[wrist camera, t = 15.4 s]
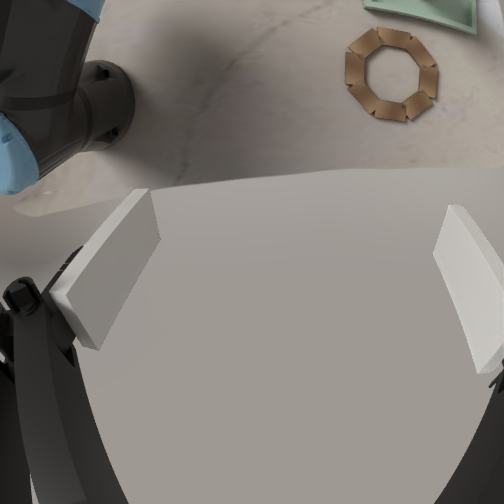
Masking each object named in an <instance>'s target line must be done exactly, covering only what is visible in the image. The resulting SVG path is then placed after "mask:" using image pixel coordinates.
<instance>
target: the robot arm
mask: <svg viewBox="0 0 504 504" xmlns="http://www.w3.org/2000/svg"><path fill="white" fill-rule="evenodd" d="M104 2H105V0H0V193H1V194H5V195H14V194H17V193H19V192H21V191H22V190H24V189H25V188H27V187H28V186H31V185H33V184H35V183H36V182H37V181H38V180H40V179H41V178H42V177H44V176H45V175H47V174H48V173H49V172H51V171H52V170H53V169H55V168H56V167H58V166H59V165H60V164H62V163H63V162H65V161H66V160H68V159H69V158H71V157H72V156H74V155H75V154H77V153H78V152H87V151H97V150H101V149H104V148H106V147H108V146H110V145H112V144H113V143H115V142H116V141H118V140H119V139H120V138H121V137H122V136H123V135H124V134H125V133H126V131H127V130H128V128H129V126H130V124H131V122H132V119H133V115H134V108H135V100H134V93H133V89H132V86H131V83H130V81H129V79H128V78H127V76H126V75H125V73H124V72H123V71H122V70H121V69H120V68H119V67H117V66H116V65H114V64H113V63H110V62H108V61H103V60H95V61H89V62H85V58H86V55H87V52H88V49H89V46H90V43H91V40H92V37H93V34H94V31H95V28H96V26H97V24H99V22H100V18H99V16H100V13H101V10H102V7H103V5H104ZM84 62H85V63H84ZM160 240H161V238H160V234H159V230H158V226H157V221H156V217H155V213H154V208H153V204H152V199H151V194H150V190H149V189H134V190H133V191H132V192H131V193H130V194H129V195H128V196H127V197H126V199H125V200H124V201H123V202H122V203H121V204H120V205H119V206H118V207H117V208H116V209H115V211H114V212H113V213H112V214H111V215H110V216H109V217H108V218H107V220H106V221H105V222H104V223H103V224H102V225H101V226H100V228H99V229H98V230H97V231H96V232H95V233H94V235H93V236H92V237H91V238H90V239H89V241H88V242H87V243H86V244H85V245H84V246H81V247H80V248H79V249H77V250H76V251H75V252H73V253H72V254H71V255H70V257H69V258H68V259H67V261H66V262H65V264H63V265H62V267H61V268H60V271H58V272H57V273H56V274H55V276H54V277H53V278H52V280H51V281H50V282H49V284H48V285H47V286H46V288H45V289H44V291H43V292H42V293H41V294H40V292H39V290H38V288H37V287H36V285H35V283H34V281H33V280H32V279H31V278H30V277H21V278H18V279H17V280H15V281H13V282H12V283H11V284H10V285H9V286H8V287H7V288H6V290H5V291H4V294H3V299H4V300H5V302H6V303H7V305H8V306H9V308H10V309H11V310H5V308H4V307H3V305H2V304H1V302H0V352H1V353H2V354H3V356H4V357H5V361H4V363H3V362H1V361H0V504H32V495H31V485H30V474H31V478H32V482H33V485H34V489H35V492H36V496H37V498H38V502H39V504H128V501H127V499H126V497H125V495H124V493H123V491H122V489H121V486H120V485H119V482H118V480H117V477H116V475H115V473H114V470H113V468H112V466H111V463H110V461H109V458H108V456H107V453H106V451H105V448H104V445H103V443H102V440H101V438H100V434H99V431H98V428H97V426H96V423H95V420H94V416H93V413H92V410H91V407H90V403H89V400H88V397H87V393H86V390H85V386H84V382H83V378H82V374H81V371H80V367H79V362H78V357H77V353H76V349H75V347H74V345H73V344H72V343H73V341H74V339H75V337H77V338H78V340H79V341H80V343H81V344H82V346H84V347H88V348H91V349H95V350H100V348H101V346H102V344H103V342H104V340H105V338H106V336H107V334H108V332H109V330H110V328H111V326H112V324H113V323H114V321H115V319H116V317H117V315H118V313H119V311H120V309H121V308H122V306H123V304H124V302H125V300H126V299H127V297H128V295H129V293H130V291H131V290H132V288H133V286H134V284H135V282H136V281H137V279H138V277H139V275H140V274H141V272H142V270H143V269H144V267H145V265H146V263H147V262H148V260H149V258H150V257H151V255H152V253H153V251H154V250H155V248H156V246H157V245H158V243H159V242H160ZM433 256H434V258H435V261H436V263H437V265H438V267H439V269H440V271H441V274H442V276H443V278H444V281H445V283H446V286H447V288H448V290H449V293H450V295H451V298H452V300H453V303H454V305H455V308H456V310H457V313H458V316H459V318H460V321H461V324H462V327H463V329H464V332H465V335H466V338H467V341H468V344H469V347H470V350H471V354H472V357H473V360H474V364H475V367H476V370H477V374H481V373H488V372H493V371H494V370H495V369H496V368H497V366H498V365H499V364H500V363H501V362H502V364H503V367H504V265H503V263H502V262H501V260H500V259H499V257H498V255H497V254H496V252H495V251H494V249H493V248H492V246H491V245H490V243H489V242H488V241H487V239H486V237H485V236H484V235H483V233H482V232H481V230H480V229H479V227H478V226H477V225H476V223H475V222H474V220H473V219H472V218H471V217H470V215H469V214H468V212H467V211H466V210H465V208H464V207H463V206H461V205H452V204H449V205H448V209H447V212H446V215H445V219H444V222H443V225H442V228H441V232H440V234H439V237H438V240H437V243H436V246H435V249H434V252H433ZM495 383H496V386H495V388H494V391H493V393H492V396H491V398H490V401H489V404H488V406H487V408H486V411H485V413H484V415H483V418H482V420H481V422H480V425H479V426H478V429H477V431H476V433H475V435H474V437H473V439H472V441H471V443H470V445H469V447H468V449H467V451H466V453H465V454H464V456H463V458H462V460H461V462H460V463H459V465H458V467H457V469H456V470H455V472H454V474H453V475H452V477H451V479H450V480H449V482H448V483H447V485H446V487H445V488H444V490H443V491H442V493H441V494H440V496H439V497H438V499H437V500H436V502H435V503H434V504H504V369H503V370H502V372H501V373H500V374H499V375H498V376H497V377H496V378H495V379H494V380H493V381H492V382H491V384H490V385H489V388H491V387H492V386H493V385H494V384H495Z"/></svg>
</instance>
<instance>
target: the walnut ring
mask: <svg viewBox="0 0 504 504" xmlns="http://www.w3.org/2000/svg"><path fill="white" fill-rule="evenodd" d="M381 45H388V46H393V47H399V48H404V49H405V50H406V51H407V52H408V53H409V55H410V56H411V57H412V58H413V60H414V61H415V62H416V63H417V65H418V66H419V67H420V74H419V89H418V91H417V92H416V93H414V94H413V95H412V96H410V97H409V98H408V99H407V100H405V101H404V102H403V103H396V102H390V101H383V100H379V99H378V98H377V96H376V95H375V94H374V93H373V92H372V91H371V89H370V88H369V87H368V86H367V85H366V84H365V83H364V64H365V57H367V56H368V55H369V54H371V53H372V52H373V51H374V50H376V49H377V48H378V47H379V46H381ZM348 48H349V49H350V50H351V51H352V52H353V53H349V52H346V53H345V84H352V85H351V86H350V87H349V88H348V90H349V92H350V93H351V94H352V95H353V96H354V97H355V98H356V99H357V100H358V102H359V103H360V104H361V105H362V106H363V107H364V108H365V110H366V111H367V112H368V113H369V114H371V113H372V112H373V111H374V117H377V118H385V119H392V120H399V121H405V119H406V116H407V117H408V118H409V119H410V120H412V119H413V118H414V117H415V116H417V115H418V114H419V113H421V112H422V111H423V110H424V109H426V108H427V107H428V106H430V105H431V104H432V103H433V102H432V101H431V99H430V98H429V97H433V98H435V97H436V85H437V71H438V68H435V67H431V66H432V65H433V64H435V63H436V62H435V61H434V59H433V58H432V57H431V55H430V54H429V53H428V51H427V50H426V49H425V47H424V46H423V45H422V44H421V42H420V41H419V40H418V39H417V37H416V36H415V37H413V38H411V39H410V33H408V32H403V31H398V30H393V29H387V28H382V27H377V32H376V31H375V30H374V29H373V28H372V29H370V30H369V31H368V32H366V33H365V34H364V35H363V36H361V37H360V38H359V39H357V40H356V41H355V42H354V43H352V44H351V45H350V46H349V47H348Z"/></svg>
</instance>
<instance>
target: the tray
mask: <svg viewBox="0 0 504 504" xmlns="http://www.w3.org/2000/svg"><path fill="white" fill-rule="evenodd" d="M363 8H366V9H373V10H379V11H385V12H390V13H395V14H400V15H405V16H409V17H414V18H418V19H422V20H426V21H429V22H433V23H437V24H440V25H444V26H447V27H450V28H453V29H456V30H459V31H462V32H465V33H468V34H477V14H476V0H363Z"/></svg>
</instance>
